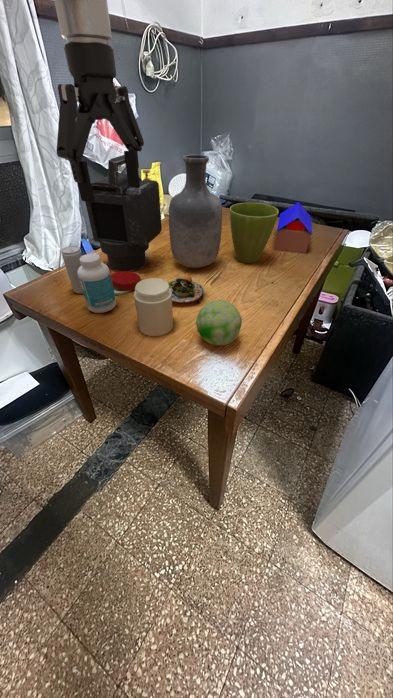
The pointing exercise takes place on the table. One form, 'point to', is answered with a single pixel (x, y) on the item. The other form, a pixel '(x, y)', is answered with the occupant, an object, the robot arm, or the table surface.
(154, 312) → the jar
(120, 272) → the jar lid
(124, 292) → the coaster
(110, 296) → the pill bottle
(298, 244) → the house
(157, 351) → the table surface
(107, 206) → the lantern
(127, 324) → the table surface
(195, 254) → the vase
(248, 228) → the flower pot
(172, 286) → the plate of food
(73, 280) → the beverage can
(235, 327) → the decorative ball
